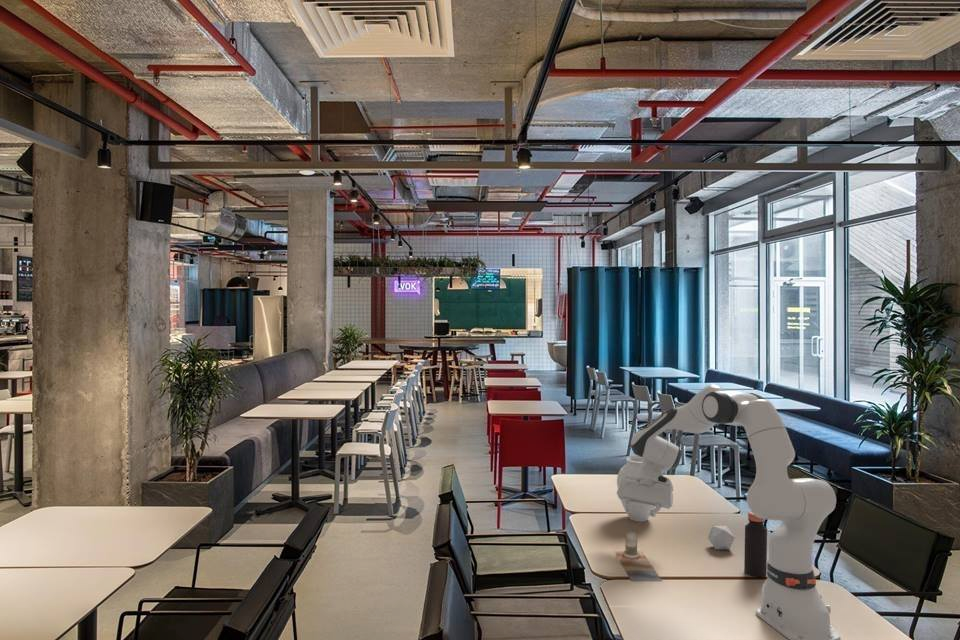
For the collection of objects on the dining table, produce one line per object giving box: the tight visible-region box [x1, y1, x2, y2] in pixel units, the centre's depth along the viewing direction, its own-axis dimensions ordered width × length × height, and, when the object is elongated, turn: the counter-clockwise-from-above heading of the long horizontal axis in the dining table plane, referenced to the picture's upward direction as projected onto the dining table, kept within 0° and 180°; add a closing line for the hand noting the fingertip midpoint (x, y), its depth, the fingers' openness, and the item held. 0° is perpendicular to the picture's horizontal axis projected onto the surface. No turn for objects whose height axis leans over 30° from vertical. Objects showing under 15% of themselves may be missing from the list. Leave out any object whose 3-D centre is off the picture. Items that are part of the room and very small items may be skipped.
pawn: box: [623, 530, 639, 559], centre depth 217 cm, size 6×6×9 cm
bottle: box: [743, 510, 768, 578], centre depth 205 cm, size 7×7×20 cm
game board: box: [614, 550, 663, 582], centre depth 210 cm, size 24×10×1 cm, turn 1°
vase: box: [616, 455, 656, 522], centre depth 256 cm, size 18×18×25 cm
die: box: [707, 525, 736, 551], centre depth 226 cm, size 8×9×10 cm
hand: (639, 513), depth 224 cm, fingers open, 8 cm apart
